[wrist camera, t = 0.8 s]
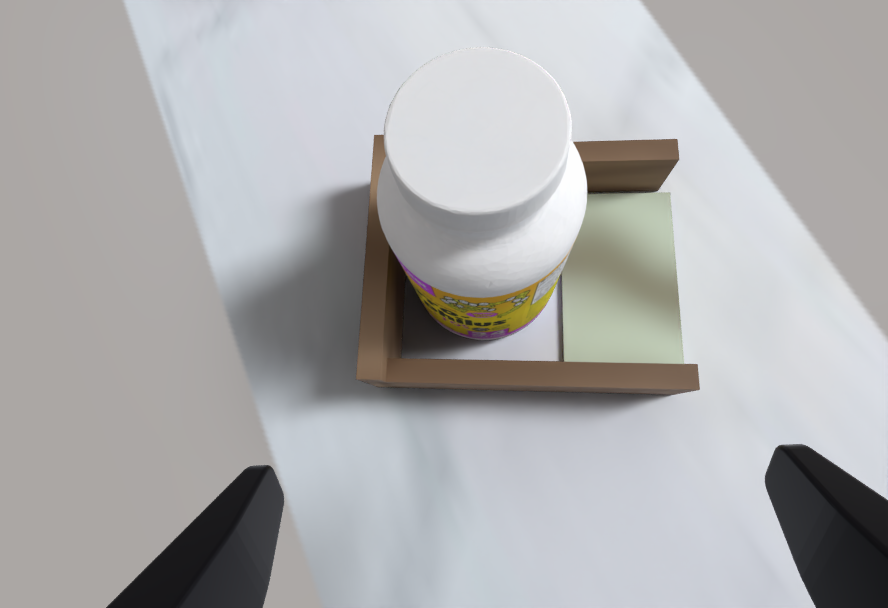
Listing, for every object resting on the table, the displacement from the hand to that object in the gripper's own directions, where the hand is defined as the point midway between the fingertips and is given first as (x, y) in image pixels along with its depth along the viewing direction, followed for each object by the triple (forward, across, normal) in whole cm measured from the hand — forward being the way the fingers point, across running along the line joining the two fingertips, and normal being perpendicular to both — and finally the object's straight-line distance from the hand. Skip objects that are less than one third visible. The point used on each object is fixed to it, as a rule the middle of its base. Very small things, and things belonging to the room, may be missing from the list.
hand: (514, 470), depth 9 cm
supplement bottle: (+16, 0, +5) cm, 16 cm away
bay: (+15, -2, +5) cm, 16 cm away
